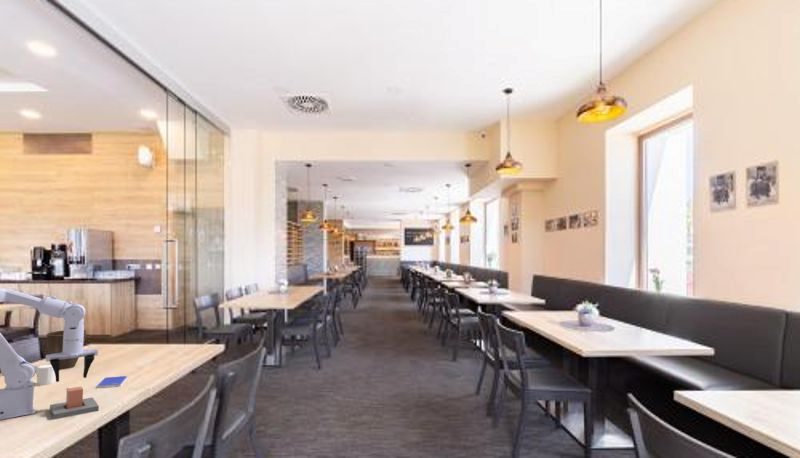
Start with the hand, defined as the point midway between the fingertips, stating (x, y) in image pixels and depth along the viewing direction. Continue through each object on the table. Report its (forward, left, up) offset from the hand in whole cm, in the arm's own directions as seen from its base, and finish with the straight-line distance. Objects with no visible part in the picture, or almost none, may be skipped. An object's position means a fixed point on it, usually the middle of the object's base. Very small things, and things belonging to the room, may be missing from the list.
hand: (71, 379), depth 154 cm
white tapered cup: (-3, +40, -10) cm, 42 cm away
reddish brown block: (+1, -5, -9) cm, 10 cm away
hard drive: (+17, +23, -10) cm, 30 cm away
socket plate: (+1, -5, -9) cm, 10 cm away
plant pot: (+6, +66, -10) cm, 67 cm away
